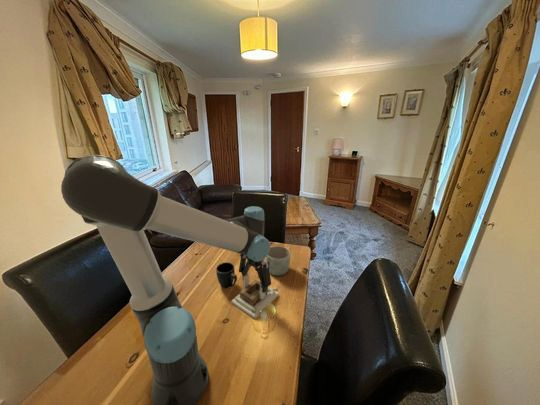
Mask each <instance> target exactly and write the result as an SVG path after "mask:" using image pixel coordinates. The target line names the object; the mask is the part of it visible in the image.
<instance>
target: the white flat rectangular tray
mask: <svg viewBox="0 0 540 405" xmlns="http://www.w3.org/2000/svg"><path fill="white" fill-rule="evenodd" d="M256 280H257V279H256ZM257 281H259V280H257ZM256 292H258V290H255V291H254V292H253V293H251V294H250V295H252V296H253V295H254V294H255V293H256ZM277 297H279V292H278V291H276V289H274V288H272V287H270V286H268V293H267V294H266V295H265V297H264V298H263V299H262V300H260V301H259V302H257V303H256V304H255V305H254V306H252V305H250V304H249V303H247V302H246V301H244V300H243V299H241V298H240V293H239V294H237V295H236V296H235V297H234V298H233V299H232V300H231V303H232V304H233V305H234V306H236V307H237V308H239V309H240V310H241V311H243V312H244V313H246V314H247V315H249V316H250V317H251V318H252V319H256V318H257V317H258V316H259V315H260V314H261V313H260V311H261V310H262V309H264V308H265V307H266V306H267V305H268V304H269V305H270V304H271V303H272V302H273V301H274V300H276V298H277ZM269 305H268V306H269ZM268 306H267V307H268ZM267 307H266V308H267ZM266 308H265V309H266ZM265 309H264V310H265ZM259 313H260V314H259ZM258 314H259V315H258Z"/></svg>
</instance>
